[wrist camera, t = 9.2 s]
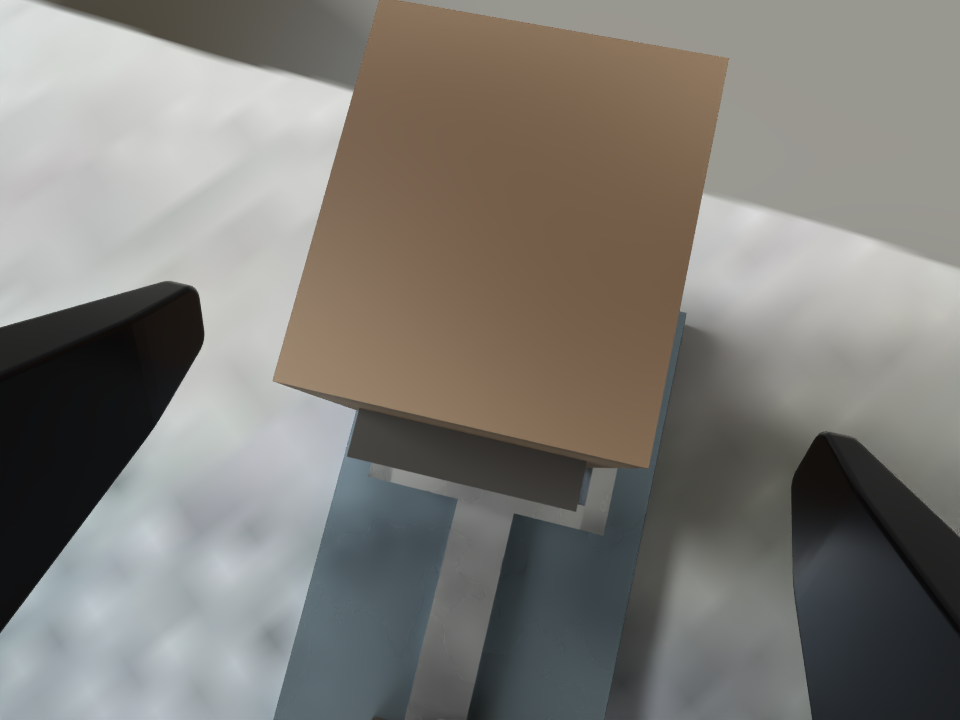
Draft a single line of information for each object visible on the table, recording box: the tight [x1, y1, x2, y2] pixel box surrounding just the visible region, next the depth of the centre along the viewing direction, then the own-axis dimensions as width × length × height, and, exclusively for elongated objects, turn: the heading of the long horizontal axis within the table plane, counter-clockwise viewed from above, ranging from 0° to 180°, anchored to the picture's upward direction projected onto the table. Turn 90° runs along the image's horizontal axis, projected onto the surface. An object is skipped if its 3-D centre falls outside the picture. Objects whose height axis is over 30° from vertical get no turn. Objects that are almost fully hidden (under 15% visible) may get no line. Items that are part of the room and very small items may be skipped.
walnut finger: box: [273, 0, 729, 512], centre depth 13 cm, size 5×4×14 cm
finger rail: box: [273, 311, 686, 720], centre depth 17 cm, size 18×9×7 cm, turn 166°
